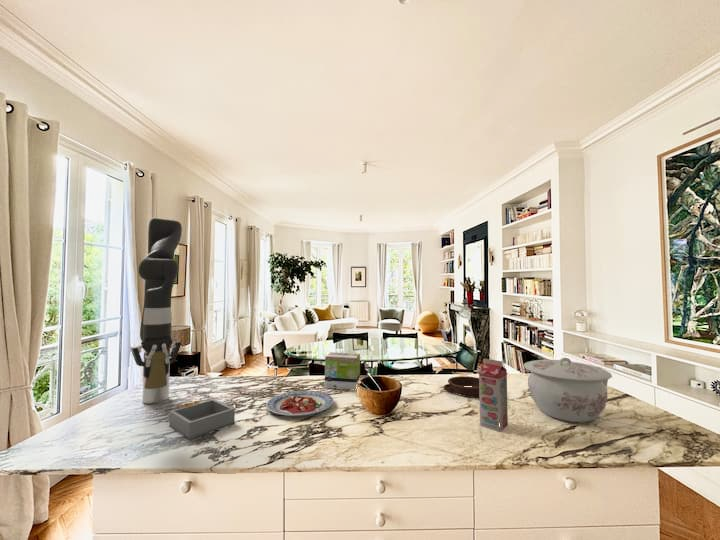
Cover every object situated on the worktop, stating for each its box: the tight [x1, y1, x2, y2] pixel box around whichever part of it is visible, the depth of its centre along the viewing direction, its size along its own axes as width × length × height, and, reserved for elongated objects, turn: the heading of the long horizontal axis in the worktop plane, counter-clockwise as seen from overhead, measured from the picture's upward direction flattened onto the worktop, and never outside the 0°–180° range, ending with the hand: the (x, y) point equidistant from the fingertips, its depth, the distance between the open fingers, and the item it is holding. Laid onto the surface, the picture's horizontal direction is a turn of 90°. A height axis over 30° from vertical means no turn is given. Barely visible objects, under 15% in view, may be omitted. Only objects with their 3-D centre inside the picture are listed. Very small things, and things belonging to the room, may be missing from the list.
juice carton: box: [478, 357, 509, 433], centre depth 110 cm, size 7×7×22 cm
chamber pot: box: [523, 357, 613, 423], centre depth 119 cm, size 28×28×21 cm
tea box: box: [324, 352, 361, 391], centre depth 152 cm, size 15×10×15 cm, turn 80°
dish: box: [443, 375, 479, 397], centre depth 143 cm, size 18×22×5 cm
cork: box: [144, 351, 167, 389], centre depth 101 cm, size 6×6×11 cm
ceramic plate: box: [265, 390, 334, 417], centre depth 127 cm, size 26×26×3 cm
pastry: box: [173, 400, 200, 410], centre depth 120 cm, size 9×7×4 cm
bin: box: [168, 398, 236, 440], centre depth 110 cm, size 15×15×5 cm
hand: (156, 376), depth 101 cm, fingers closed on cork, 4 cm apart
